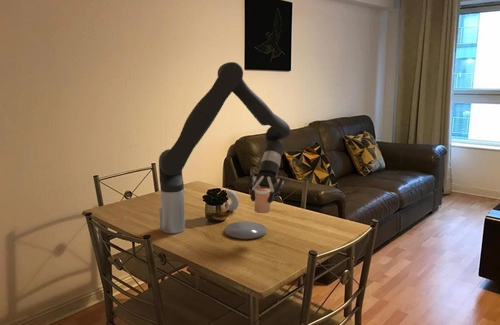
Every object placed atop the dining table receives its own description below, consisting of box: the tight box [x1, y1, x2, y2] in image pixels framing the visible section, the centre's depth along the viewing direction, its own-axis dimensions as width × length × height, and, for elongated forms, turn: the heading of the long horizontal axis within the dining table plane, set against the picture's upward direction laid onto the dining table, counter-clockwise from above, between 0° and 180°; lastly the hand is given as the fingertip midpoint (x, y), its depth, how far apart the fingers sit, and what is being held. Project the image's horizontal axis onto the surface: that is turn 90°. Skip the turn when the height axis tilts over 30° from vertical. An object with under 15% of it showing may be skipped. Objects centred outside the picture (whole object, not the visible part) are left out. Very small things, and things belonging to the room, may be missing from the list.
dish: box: [224, 220, 267, 240], centre depth 171 cm, size 17×17×1 cm
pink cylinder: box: [253, 186, 271, 214], centre depth 160 cm, size 6×6×9 cm
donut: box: [225, 189, 240, 212], centre depth 195 cm, size 10×4×10 cm, turn 50°
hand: (261, 201), depth 159 cm, fingers closed on pink cylinder, 6 cm apart
